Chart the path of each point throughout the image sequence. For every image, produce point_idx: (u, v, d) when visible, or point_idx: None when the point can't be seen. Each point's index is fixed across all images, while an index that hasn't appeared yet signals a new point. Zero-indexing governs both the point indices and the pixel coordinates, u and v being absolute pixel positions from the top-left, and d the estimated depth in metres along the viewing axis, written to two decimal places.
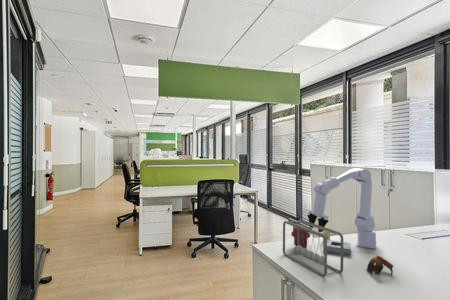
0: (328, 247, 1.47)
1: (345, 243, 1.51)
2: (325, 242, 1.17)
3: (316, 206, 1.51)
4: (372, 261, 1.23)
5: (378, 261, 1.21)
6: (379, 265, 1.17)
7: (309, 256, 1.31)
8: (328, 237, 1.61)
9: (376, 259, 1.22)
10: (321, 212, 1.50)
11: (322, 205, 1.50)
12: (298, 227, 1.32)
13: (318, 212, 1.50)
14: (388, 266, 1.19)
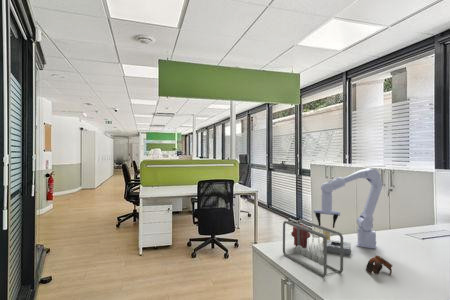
0: (328, 247, 1.47)
1: (345, 243, 1.51)
2: (325, 242, 1.17)
3: (328, 205, 1.61)
4: (371, 261, 1.23)
5: (377, 261, 1.21)
6: (378, 265, 1.18)
7: (309, 256, 1.31)
8: (328, 237, 1.61)
9: (375, 259, 1.22)
10: (331, 209, 1.62)
11: (327, 203, 1.61)
12: (298, 227, 1.32)
13: (330, 210, 1.61)
14: (387, 266, 1.19)
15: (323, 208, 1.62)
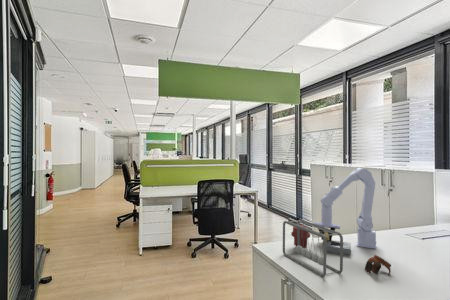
0: (328, 247, 1.47)
1: (345, 243, 1.51)
2: (324, 242, 1.17)
3: (328, 219, 1.61)
4: (370, 260, 1.23)
5: (376, 260, 1.21)
6: (377, 264, 1.18)
7: (309, 256, 1.31)
8: (328, 237, 1.61)
9: (374, 258, 1.23)
10: (331, 223, 1.62)
11: (327, 217, 1.61)
12: (298, 227, 1.32)
13: (330, 224, 1.61)
14: (386, 265, 1.20)
15: (323, 221, 1.62)
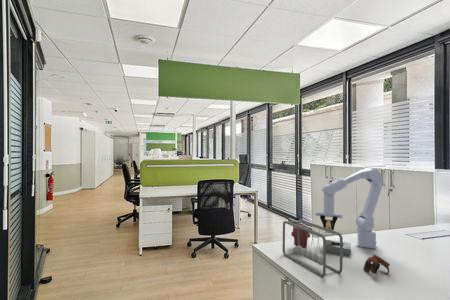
0: (328, 247, 1.47)
1: (345, 243, 1.51)
2: (324, 242, 1.17)
3: (330, 208, 1.58)
4: (369, 260, 1.24)
5: (375, 260, 1.22)
6: (376, 264, 1.19)
7: (308, 256, 1.31)
8: (330, 226, 1.59)
9: (373, 258, 1.23)
10: None
11: (330, 206, 1.58)
12: (297, 227, 1.32)
13: (332, 213, 1.58)
14: (385, 265, 1.20)
15: (325, 210, 1.59)
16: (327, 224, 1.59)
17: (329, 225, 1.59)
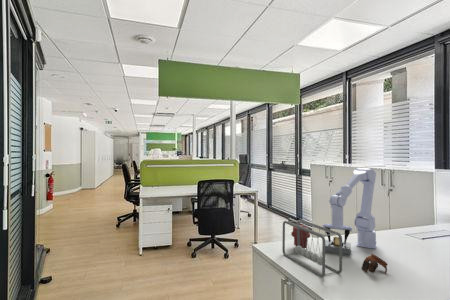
0: (328, 247, 1.47)
1: None
2: (323, 242, 1.17)
3: (339, 220, 1.47)
4: (367, 259, 1.24)
5: (373, 259, 1.23)
6: (374, 263, 1.19)
7: (308, 256, 1.31)
8: None
9: (371, 257, 1.24)
10: (342, 224, 1.49)
11: (341, 218, 1.48)
12: (297, 227, 1.32)
13: (341, 225, 1.48)
14: (383, 264, 1.21)
15: (333, 223, 1.49)
16: (336, 242, 1.49)
17: (338, 243, 1.48)
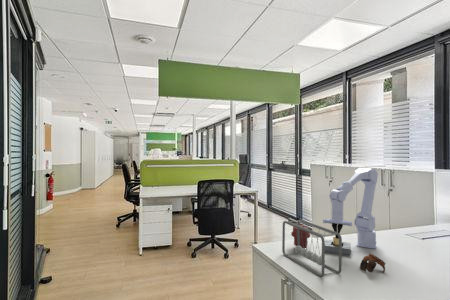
0: (328, 247, 1.47)
1: (345, 243, 1.51)
2: (323, 242, 1.17)
3: (339, 215, 1.47)
4: (365, 259, 1.25)
5: (371, 259, 1.23)
6: (372, 263, 1.20)
7: (308, 256, 1.31)
8: None
9: (369, 257, 1.25)
10: (342, 219, 1.49)
11: (341, 212, 1.48)
12: (297, 227, 1.32)
13: (341, 220, 1.48)
14: (381, 264, 1.22)
15: (333, 218, 1.49)
16: (336, 242, 1.49)
17: (338, 243, 1.48)
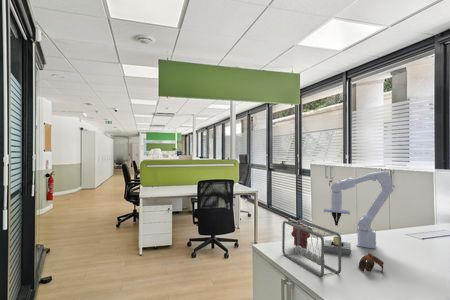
0: (328, 247, 1.47)
1: (345, 243, 1.51)
2: (322, 242, 1.17)
3: (338, 204, 1.64)
4: (364, 258, 1.25)
5: (369, 258, 1.24)
6: (371, 262, 1.20)
7: (307, 256, 1.31)
8: None
9: (367, 256, 1.25)
10: (341, 208, 1.65)
11: (336, 202, 1.64)
12: (297, 227, 1.32)
13: (340, 209, 1.64)
14: (379, 263, 1.22)
15: (333, 207, 1.65)
16: (336, 242, 1.49)
17: (338, 243, 1.48)
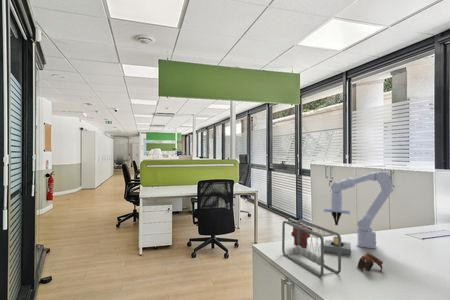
0: (328, 247, 1.47)
1: (345, 243, 1.51)
2: (322, 242, 1.17)
3: (338, 204, 1.65)
4: (363, 258, 1.26)
5: (368, 258, 1.24)
6: (369, 262, 1.21)
7: (307, 256, 1.31)
8: None
9: (366, 256, 1.25)
10: (341, 208, 1.66)
11: (335, 202, 1.65)
12: (296, 227, 1.32)
13: (340, 209, 1.65)
14: (378, 263, 1.23)
15: (333, 207, 1.66)
16: (336, 242, 1.49)
17: None
